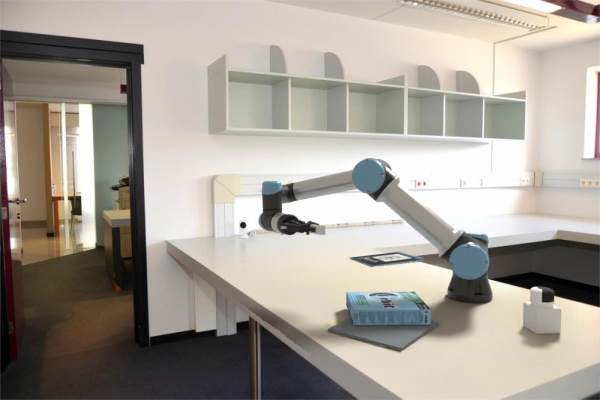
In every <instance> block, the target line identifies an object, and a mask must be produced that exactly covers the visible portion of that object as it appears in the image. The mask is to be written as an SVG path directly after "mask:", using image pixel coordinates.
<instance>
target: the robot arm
mask: <svg viewBox="0 0 600 400" xmlns="http://www.w3.org/2000/svg"><path fill="white" fill-rule="evenodd" d="M354 190H358V191H359V192H361V193H363V194H366V195H368V196H369V197H370V198H371V199H373V201H375V202H376V203H384V204H385V206H387V207H388V208H389V209H390V210H392V211H393V212H394V213H395V214H397V215H398V216H399V217H400V218H401V219H402V220H404V221H405V222H406V223H407V224H408V225H409V226H410V227H411V228H413V229H414V230H415V231H416V232H417V233H419V234H420V236H422V237H423V238H424V239H425V240H427V242H429V243H430V244H431V245H432V246H434V248H435V249H437V252H438V257H440V259H441V260H442V261H444V262H445V263H446V264H448V266H449V268H450V269H451V271H452V276H451V278H450V281H449V284H448V286H447V291H446V292H447V294H446V295H447V296H446V297H448V298H450V299H451V300H455V301H459V302H463V303H473V304H477V303H481V304H482V303H488V302H491V301H493V296H494V295H493V290H492V287H491V284H490V281H489V277H488V271H489V270H488V269H489V267H490V256H489V242H490V241H489V237H488V235H487V234H486V233H477V232H475V233H471V232H469V233H468V232H466V231H464V230H463V229H461V230H460V229H459V230H458V229H455V228H454V227H453V226H452V225H450V224H449V223H448V222H447V221H446V220H444V219H443V218H442V217H441V216H439V215H438V214H437V213H436V212H435V211H434V210H432V209H431V208H430V207H429V206H427V205H426V204H425V202H423V201H421V200H420V199H419V198H418V197H417V196H416V195H414V193H412V192H411V191H410V190H409V189H407V188H406V187H405V186H404V185H402V183H401V182H400V176H399V175H397V173H395V172H394V171H393V170H392V167H391V165H390V164H389V163H388V162H386V161H385V160H384V159H380V158H374V157H373V158H372V157H367V158H364V159H362V160H360V161H359V162H357V163H356V165H354V167H353V169H350V170H346V171H341V172H337V173H332V174H327V175H324V176H319V177H314V178H309V179H305V180H301V181H295V182H290V183H286V184H282V182H281V181H280V180H265V181H263V182H262V183H261V199H262V213H261V214H260V215H259V217H258V218H257V219H258V225H259V227H260V228H262V229H263V230H265V231H267V232H273V233H278V234H280V235H281V236H283V235H286V236H292V235H296V234H297V233H300V234H304V233H305V234H306V236H308V235H309V236H310V234H315V235H321V236H323V235H326V225H321V224H320V223H318V222H315V221H312V220H308V221H305V220H301V219H299V218H298V217H297V216H296V215H295V214H290V213H285V212H283V204H289V203H293V202H299V201H303V200H307V199H313V198H317V197H322V196H329V195H334V194H339V193H344V192H349V191H354Z"/></svg>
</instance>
